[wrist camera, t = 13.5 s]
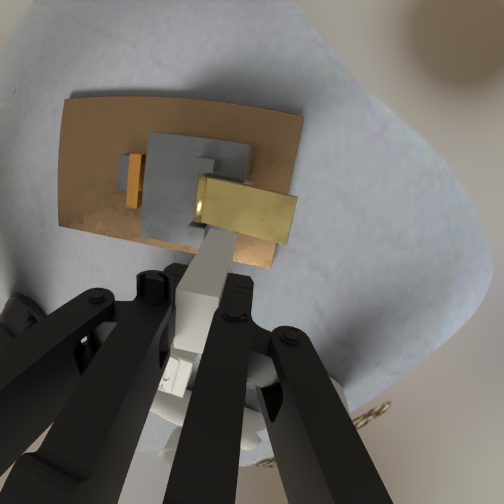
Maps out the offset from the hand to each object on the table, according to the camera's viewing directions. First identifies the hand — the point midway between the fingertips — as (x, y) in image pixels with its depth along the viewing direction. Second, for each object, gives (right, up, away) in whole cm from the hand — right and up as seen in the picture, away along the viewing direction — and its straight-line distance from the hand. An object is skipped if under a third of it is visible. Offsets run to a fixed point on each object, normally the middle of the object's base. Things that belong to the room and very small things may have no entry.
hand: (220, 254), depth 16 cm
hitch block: (-11, +11, +20) cm, 25 cm away
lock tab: (+1, +4, +10) cm, 11 cm away
